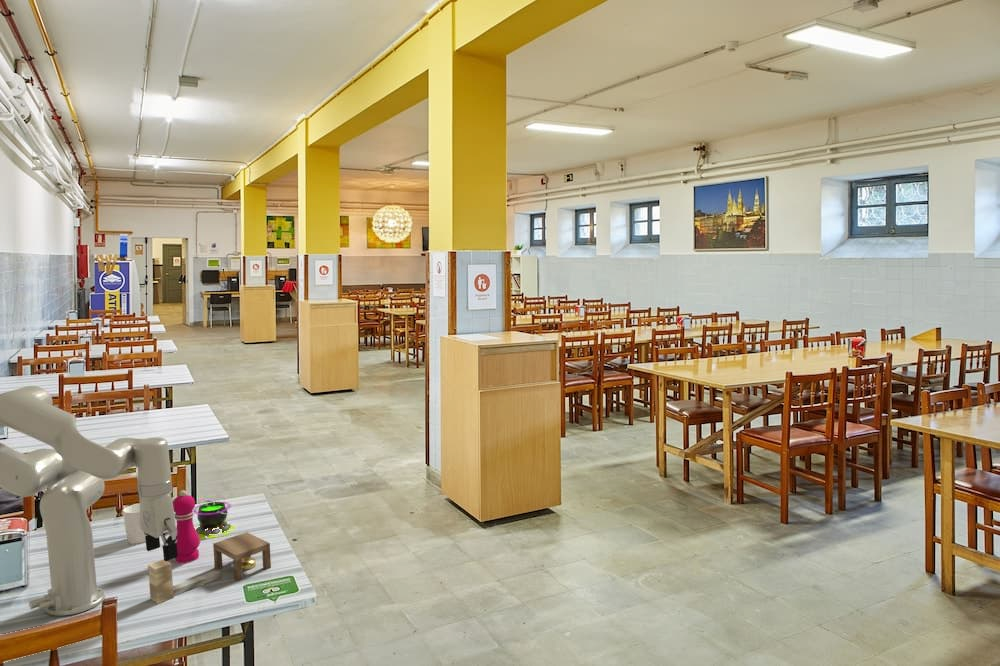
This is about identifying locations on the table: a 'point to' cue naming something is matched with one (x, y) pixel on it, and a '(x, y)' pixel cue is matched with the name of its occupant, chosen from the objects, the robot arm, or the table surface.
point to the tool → (164, 585)
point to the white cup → (133, 524)
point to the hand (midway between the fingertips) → (162, 554)
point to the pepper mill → (185, 528)
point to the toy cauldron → (212, 519)
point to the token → (248, 563)
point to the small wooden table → (241, 551)
